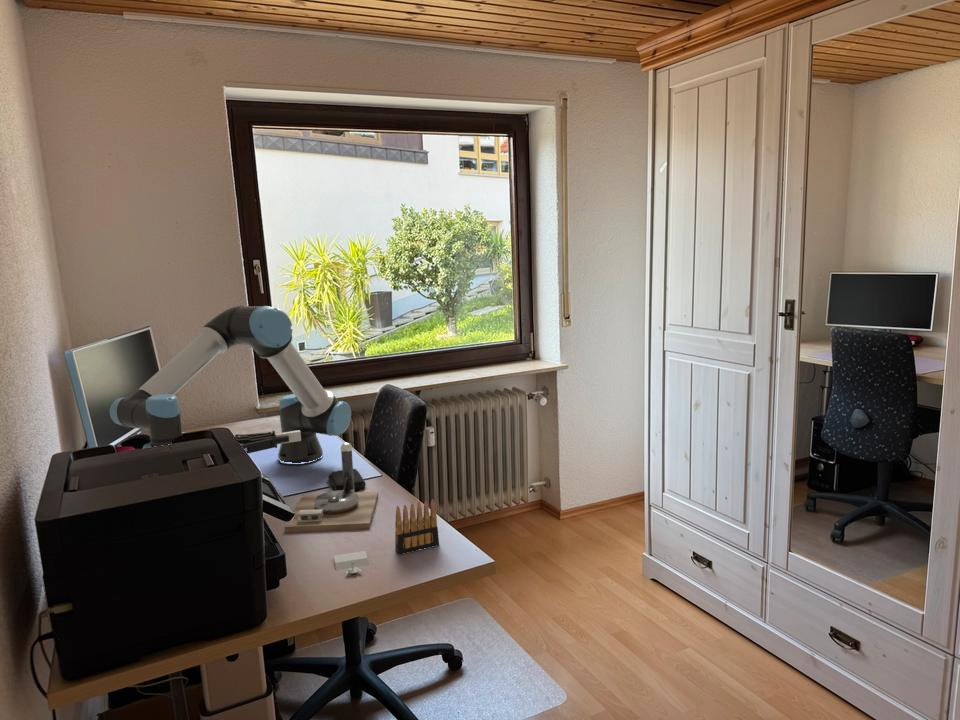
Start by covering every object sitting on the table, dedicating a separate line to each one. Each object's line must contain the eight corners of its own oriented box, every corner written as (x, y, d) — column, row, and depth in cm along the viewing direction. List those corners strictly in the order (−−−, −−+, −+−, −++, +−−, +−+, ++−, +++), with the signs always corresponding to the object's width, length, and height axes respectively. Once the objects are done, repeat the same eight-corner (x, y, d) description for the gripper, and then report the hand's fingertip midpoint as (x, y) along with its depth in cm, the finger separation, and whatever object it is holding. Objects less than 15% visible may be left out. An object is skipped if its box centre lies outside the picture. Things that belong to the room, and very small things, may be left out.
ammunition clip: (436, 542, 161) (434, 497, 159) (439, 545, 160) (437, 499, 158) (395, 552, 157) (392, 505, 155) (397, 555, 155) (395, 508, 153)
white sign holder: (365, 555, 156) (365, 546, 156) (372, 579, 145) (371, 569, 145) (334, 560, 154) (333, 550, 154) (338, 585, 143) (337, 574, 143)
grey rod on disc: (345, 515, 175) (342, 459, 172) (306, 511, 178) (302, 456, 175) (370, 494, 189) (367, 442, 186) (333, 491, 192) (330, 440, 190)
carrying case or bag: (324, 480, 208) (331, 496, 194) (323, 471, 207) (331, 486, 194) (357, 475, 212) (367, 490, 198) (357, 466, 211) (366, 481, 198)
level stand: (303, 499, 191) (302, 487, 191) (378, 496, 192) (377, 484, 192) (285, 532, 170) (283, 519, 169) (369, 528, 171) (369, 515, 170)
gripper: (209, 455, 178) (297, 442, 188) (212, 470, 167) (305, 454, 176) (206, 429, 177) (295, 417, 187) (209, 442, 165) (303, 428, 175)
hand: (300, 435), depth 182 cm, fingers closed
